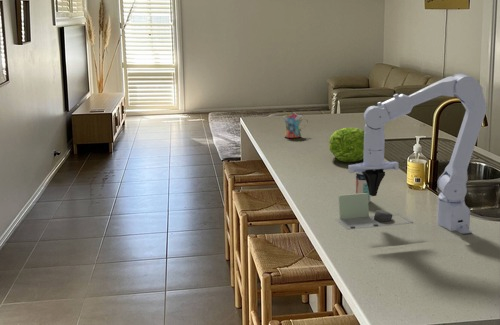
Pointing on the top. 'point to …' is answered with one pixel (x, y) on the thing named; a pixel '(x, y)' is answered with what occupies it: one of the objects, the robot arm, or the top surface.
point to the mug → (293, 125)
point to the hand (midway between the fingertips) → (372, 195)
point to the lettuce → (347, 144)
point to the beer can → (361, 185)
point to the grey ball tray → (365, 222)
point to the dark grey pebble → (382, 216)
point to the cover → (353, 206)
